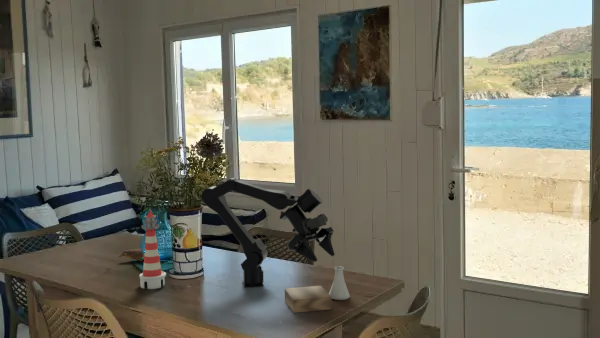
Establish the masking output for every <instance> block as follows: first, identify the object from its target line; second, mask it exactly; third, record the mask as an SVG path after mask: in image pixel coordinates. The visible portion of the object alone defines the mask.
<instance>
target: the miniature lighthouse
mask: <svg viewBox="0 0 600 338" xmlns="http://www.w3.org/2000/svg"><path fill="white" fill-rule="evenodd" d="M143 217H144V218H145V219H143V220H142V223H143V224H141V229H142V230H145V240H144V243H145V244H144V249H145V253H144V261H143V267H142V273H139V275H138V277H139V282H140V288H141V289H144V290H155V289H160V288H163V287H164V286H165V283H166V282H165V281H166V279H165V277H167V272H165V271H163V270H162V267H161V259H160V254H159V253H158V249H159V248H158V241H157V234H156V233H157V232H156V230H157V229H160V224H159V223H158V219H157V218H156V217H157V215H156V214H153V213H152V208H149V209H148V213H147V215H144V216H143Z"/></svg>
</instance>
